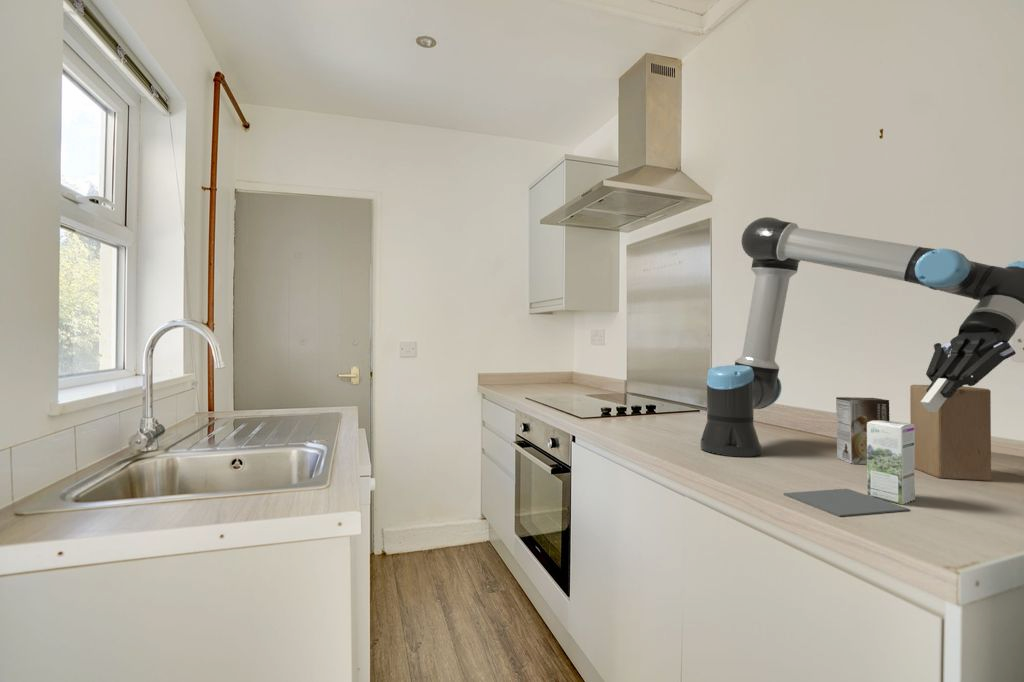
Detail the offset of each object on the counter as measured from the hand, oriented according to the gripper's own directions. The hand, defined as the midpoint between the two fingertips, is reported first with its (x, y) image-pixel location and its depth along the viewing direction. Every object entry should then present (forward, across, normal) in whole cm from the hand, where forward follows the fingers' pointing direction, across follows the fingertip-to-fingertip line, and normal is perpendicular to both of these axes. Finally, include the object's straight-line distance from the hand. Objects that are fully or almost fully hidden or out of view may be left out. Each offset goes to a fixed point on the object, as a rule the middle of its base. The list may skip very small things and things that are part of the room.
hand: (928, 406), depth 90 cm
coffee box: (+3, +25, -22) cm, 33 cm away
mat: (+26, 0, +2) cm, 26 cm away
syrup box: (+19, 0, -6) cm, 20 cm away
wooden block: (-3, +12, -28) cm, 30 cm away
